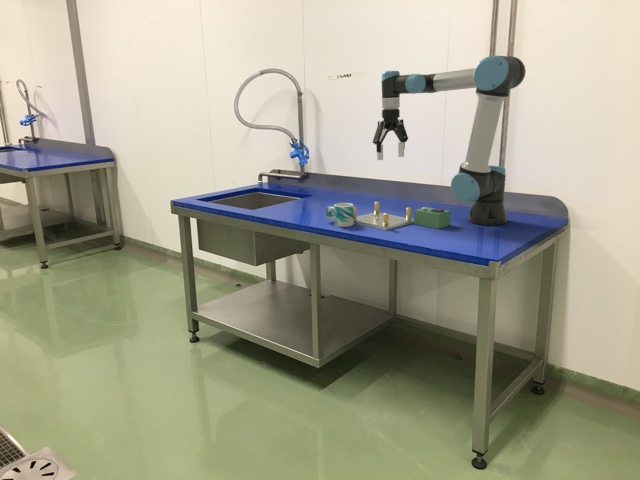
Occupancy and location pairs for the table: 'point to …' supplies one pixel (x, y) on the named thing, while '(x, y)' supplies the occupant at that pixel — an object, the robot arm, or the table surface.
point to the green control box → (432, 217)
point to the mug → (341, 214)
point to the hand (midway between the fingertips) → (390, 158)
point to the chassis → (382, 219)
